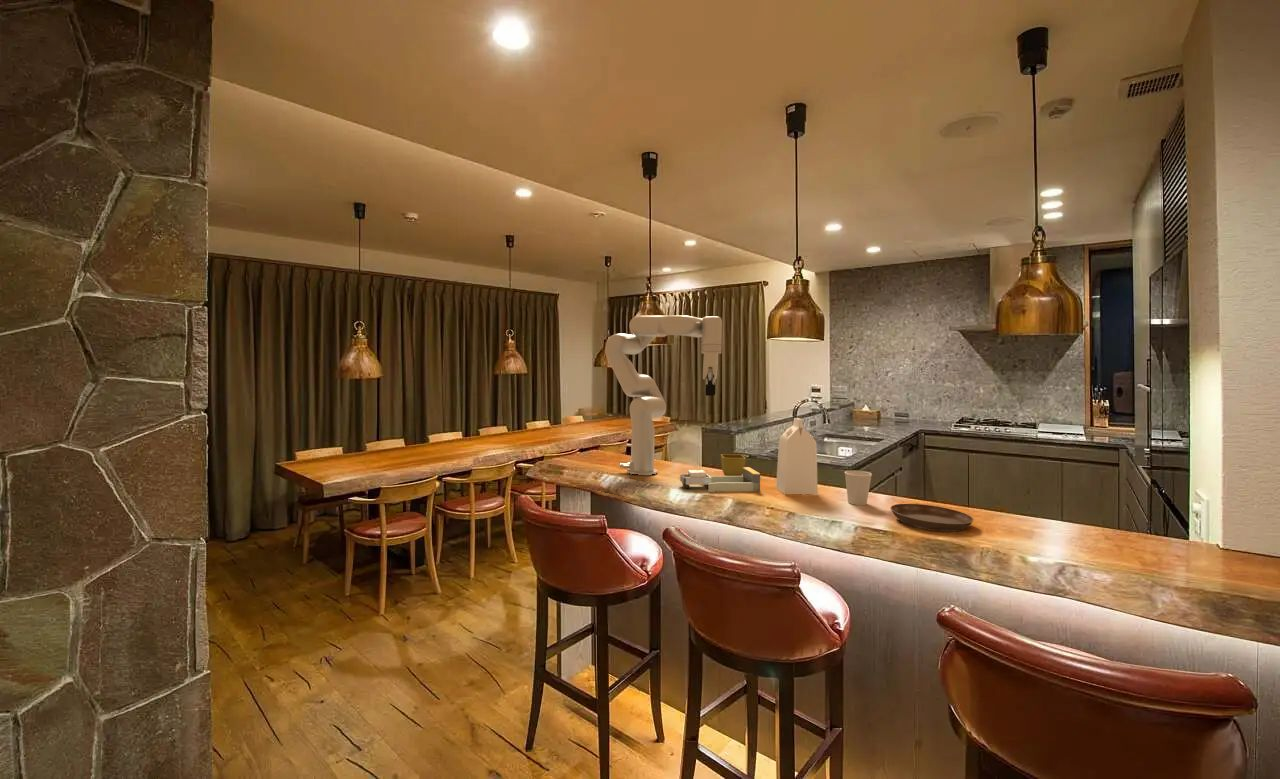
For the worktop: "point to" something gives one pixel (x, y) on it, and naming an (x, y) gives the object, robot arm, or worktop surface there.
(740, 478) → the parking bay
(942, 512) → the plant saucer
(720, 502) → the worktop surface
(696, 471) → the trolley
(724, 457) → the flower pot
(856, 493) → the dixie cup
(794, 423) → the milk
